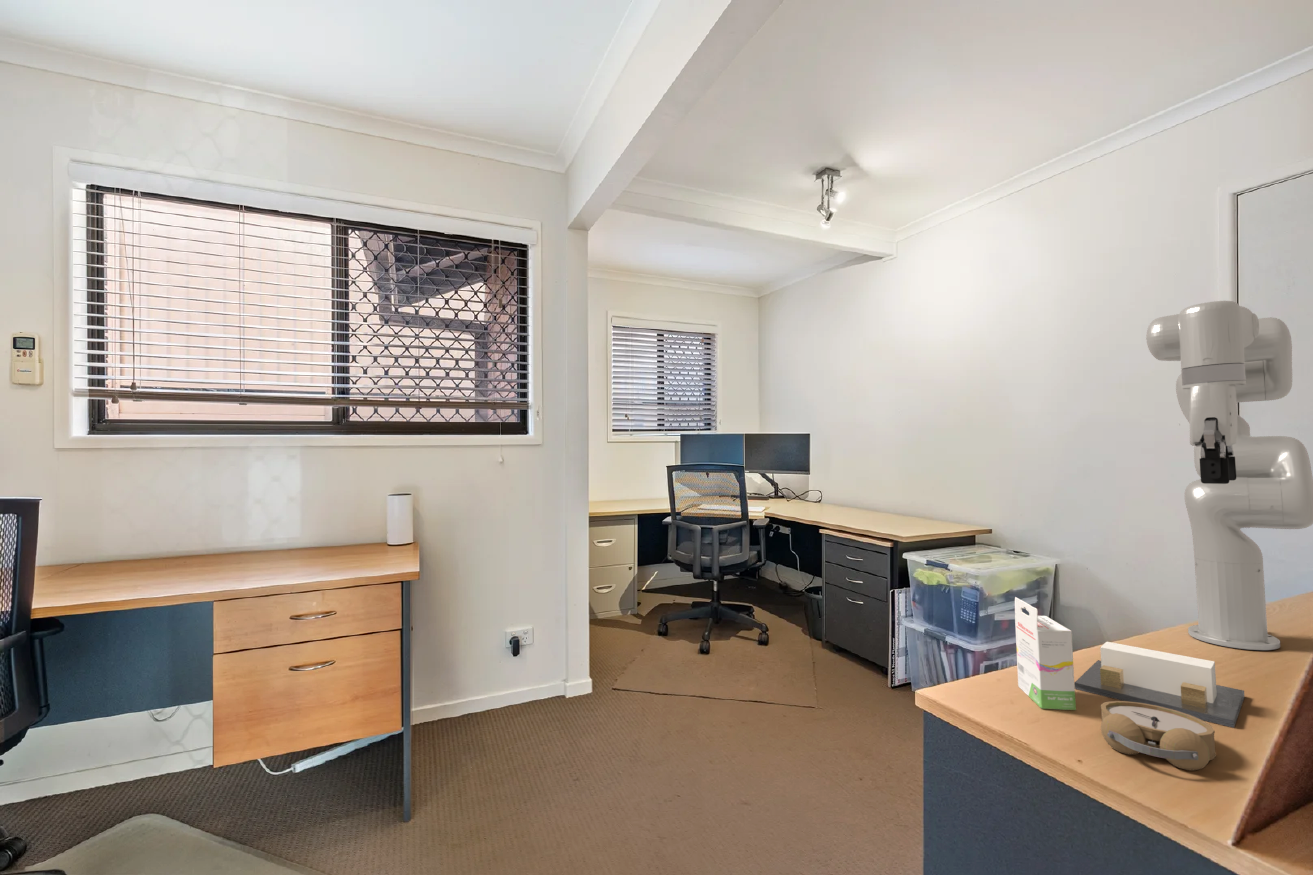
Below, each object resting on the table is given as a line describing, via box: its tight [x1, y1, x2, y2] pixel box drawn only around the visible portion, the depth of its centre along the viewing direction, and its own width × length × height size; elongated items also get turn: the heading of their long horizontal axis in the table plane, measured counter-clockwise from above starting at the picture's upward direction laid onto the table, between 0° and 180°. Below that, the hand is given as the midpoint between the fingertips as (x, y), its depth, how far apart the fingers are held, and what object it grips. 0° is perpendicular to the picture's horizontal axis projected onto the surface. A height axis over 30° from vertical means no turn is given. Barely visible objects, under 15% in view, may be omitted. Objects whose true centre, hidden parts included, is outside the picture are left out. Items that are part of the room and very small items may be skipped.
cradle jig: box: [1074, 659, 1246, 729], centre depth 89 cm, size 14×18×4 cm
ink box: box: [1014, 596, 1077, 711], centre depth 88 cm, size 9×5×15 cm, turn 168°
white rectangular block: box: [1100, 641, 1217, 703], centre depth 89 cm, size 4×13×5 cm, turn 40°
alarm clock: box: [1100, 700, 1217, 771], centre depth 73 cm, size 11×5×15 cm
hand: (1219, 481), depth 93 cm, fingers open, 9 cm apart
